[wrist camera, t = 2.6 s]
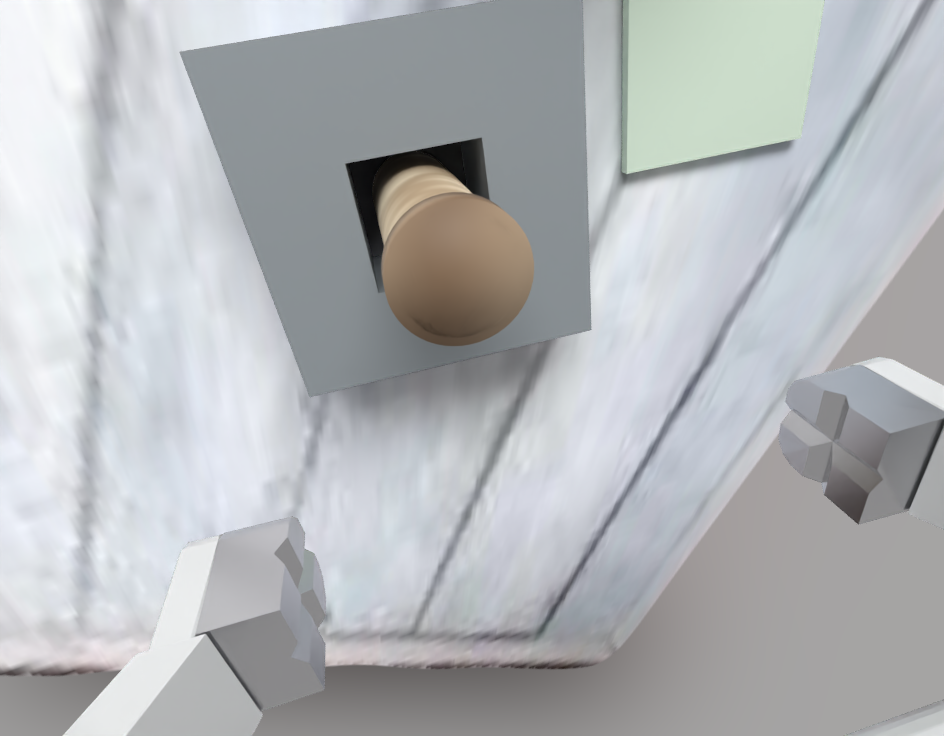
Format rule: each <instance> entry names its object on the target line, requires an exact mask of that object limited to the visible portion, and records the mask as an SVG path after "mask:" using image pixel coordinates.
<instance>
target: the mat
mask: <svg viewBox="0 0 944 736" xmlns="http://www.w3.org/2000/svg"><path fill="white" fill-rule="evenodd" d="M824 2H825V0H623V39H622V172H623V173H626V174H629V173H634V172H639V171H644V170H649V169H653V168H658V167H663V166H668V165H673V164H678V163H683V162H687V161H692V160H697V159H702V158H707V157H712V156H717V155H721V154H726V153H731V152H736V151H741V150H746V149H750V148H755V147H760V146H765V145H770V144H775V143H780V142H784V141H789V140H794V139H799V138H801V134H802V128H803V122H804V117H805V111H806V105H807V99H808V94H809V88H810V82H811V77H812V71H813V65H814V59H815V54H816V48H817V42H818V36H819V31H820V25H821V19H822V13H823V8H824Z"/></svg>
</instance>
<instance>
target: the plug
mask: <svg viewBox="0 0 944 736" xmlns="http://www.w3.org/2000/svg"><path fill="white" fill-rule="evenodd" d="M372 198H373V203H374V207H375V211H376V215H377V219H378V223H379V227H380V231H381V236H382V240H383V244H384V249H383V253H382V261H381V273H382V279H383V284H384V289H385V294H386V298H387V301H388V304H389V306H390V308H391V310H392V312H393V313H394V315H395V316H396V318H397V319H398V321H399V322H400V323H401V324H402V325H403V326H404V327H405V328H406V329H407V330H408V331H410V332H411V333H412V334H414V335H416V336H417V337H419V338H421V339H423V340H425V341H427V342H431V343H434V344H438V345H443V346H464V345H470V344H474V343H478V342H481V341H483V340H486V339H488V338H490V337H492V336H494V335H495V334H497V333H499V332H500V331H501V330H503V329H504V328H505V327H506V326H508V325H509V324H510V323H511V322H512V321H513V320H514V318H515V317H516V316H517V315H518V314H519V312H520V311H521V309H522V308H523V306H524V304H525V302H526V301H527V299H528V296H529V293H530V291H531V287H532V283H533V277H534V259H533V253H532V249H531V246H530V243H529V241H528V239H527V236H526V234H525V233H524V231H523V230H522V228H521V227H520V226H519V224H518V223H517V222H516V221H515V220H514V219H513V218H512V217H511V216H510V215H509V214H507V213H506V212H505V211H504V210H503V209H502V208H501V207H499V206H498V205H497V204H495V203H494V202H492V201H490V200H488V199H486V198H484V197H482V196H479V195H475V194H472V193H471V192H470V191H469V190H468V189H467V188H466V187H465V186H464V185H463V184H462V183H461V182H460V181H459V180H458V179H457V178H456V177H455V176H454V175H453V174H452V173H451V172H450V171H449V170H448V169H447V168H446V167H445V166H444V165H443V164H442V163H441V162H440V161H439V160H437V159H436V158H435V157H433V156H432V155H430V154H427V153H425V152H422V151H416V150H414V151H409V152H403V153H398V154H394V155H393V156H391V157H389V158H388V159H387V160H386V161H385V162H384V163H383V164H382V165H381V166H380V168H379V169H378V171H377V173H376V175H375V177H374V180H373V185H372Z"/></svg>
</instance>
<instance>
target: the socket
mask: <svg viewBox="0 0 944 736" xmlns="http://www.w3.org/2000/svg"><path fill="white" fill-rule="evenodd" d="M180 55H181V57H182V60H183V63H184V65H185V68H186V71H187V73H188V76H189V78H190V81H191V84H192V86H193V89H194V92H195V94H196V97H197V100H198V102H199V105H200V108H201V110H202V113H203V116H204V118H205V121H206V123H207V126H208V129H209V131H210V134H211V137H212V139H213V142H214V145H215V147H216V150H217V153H218V155H219V158H220V161H221V163H222V166H223V169H224V171H225V174H226V176H227V179H228V182H229V184H230V187H231V190H232V192H233V195H234V198H235V200H236V203H237V206H238V208H239V211H240V214H241V216H242V219H243V221H244V224H245V227H246V229H247V232H248V235H249V237H250V240H251V243H252V245H253V248H254V251H255V253H256V256H257V259H258V261H259V264H260V266H261V269H262V272H263V274H264V277H265V280H266V282H267V285H268V288H269V290H270V293H271V296H272V298H273V301H274V304H275V306H276V309H277V311H278V314H279V317H280V319H281V322H282V325H283V327H284V330H285V333H286V335H287V338H288V341H289V343H290V346H291V349H292V351H293V354H294V357H295V359H296V362H297V364H298V367H299V370H300V372H301V375H302V378H303V380H304V383H305V386H306V388H307V391H308V394H309V396H310V397H313V396H317V395H321V394H326V393H330V392H334V391H338V390H342V389H347V388H351V387H355V386H359V385H363V384H367V383H372V382H376V381H380V380H384V379H388V378H393V377H397V376H401V375H405V374H409V373H413V372H418V371H422V370H426V369H430V368H434V367H439V366H443V365H447V364H451V363H455V362H459V361H464V360H468V359H472V358H476V357H480V356H485V355H489V354H493V353H497V352H501V351H505V350H510V349H514V348H518V347H522V346H526V345H531V344H535V343H539V342H543V341H547V340H551V339H556V338H560V337H564V336H568V335H572V334H577V333H581V332H585V331H589V330H591V301H590V264H589V226H588V189H587V152H586V114H585V77H584V40H583V2H582V0H495V1H489V2H483V3H476V4H470V5H464V6H458V7H452V8H446V9H440V10H433V11H427V12H421V13H415V14H409V15H403V16H397V17H390V18H384V19H378V20H372V21H366V22H360V23H354V24H348V25H341V26H335V27H329V28H323V29H317V30H311V31H305V32H298V33H292V34H286V35H280V36H274V37H268V38H262V39H255V40H249V41H243V42H237V43H231V44H225V45H219V46H213V47H206V48H200V49H194V50H188V51H182V52H180ZM455 142H460V144H461V151H462V158H463V165H464V172H465V179H466V185H467V189H468V190H469V191H470V192H471V193H472V194H475V195H479V196H482V197H484V198H486V199H488V200H490V201H492V202H494V203H495V204H497V205H498V206H499V207H501V208H502V209H503V210H504V211H505V212H506V213H507V214H509V215H510V216H511V217H512V218H513V219H514V220H515V221H516V222H517V223H518V224H519V226H520V227H521V228H522V230H523V231H524V233H525V234H526V236H527V239H528V241H529V243H530V246H531V249H532V253H533V259H534V277H533V283H532V287H531V291H530V293H529V296H528V299H527V301H526V302H525V304H524V306H523V308H522V309H521V311H520V312H519V314H518V315H517V316H516V317H515V318H514V320H513V321H512V322H511V323H510V324H509V325H508V326H506V327H505V328H504V329H503V330H501V331H500V332H499V333H497V334H495V335H494V336H492V337H490V338H488V339H486V340H483V341H481V342H478V343H474V344H470V345H464V346H443V345H438V344H434V343H431V342H427V341H425V340H423V339H421V338H419V337H417V336H416V335H414V334H412V333H411V332H410V331H408V330H407V329H406V328H405V327H404V326H403V325H402V324H401V323H400V322H399V321H398V319H397V318H396V316H395V315H394V313H393V312H392V310H391V308H390V306H389V304H388V301H387V298H386V294H385V289H384V284H383V279H382V273H381V261H382V255H381V256H376V257H372V253H371V250H370V246H369V242H368V238H367V234H366V230H365V226H364V222H363V218H362V214H361V210H360V207H359V203H358V199H357V195H356V191H355V187H354V183H353V179H352V175H351V171H350V167H349V164H348V163H351V162H356V161H362V160H367V159H372V158H377V157H382V156H388V155H393V154H398V153H403V152H409V151H414V150H419V149H424V148H429V147H435V146H440V145H445V144H450V143H455Z"/></svg>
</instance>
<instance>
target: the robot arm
mask: <svg viewBox="0 0 944 736" xmlns="http://www.w3.org/2000/svg"><path fill="white" fill-rule="evenodd" d="M785 402H786V404H787V405H788V406H789V408H790V409H791V411H790V412H789V414H788V415H787V416H786V417H785V419H784V420H783V421H782V422H781V426H780V432H779V442H780V446H781V449H782V452H783V455H784V456H785V458H786V459H787V460H788V462H789V464H790V465H791V466H792V467H793V468H794V469H795V470H797V472H799V473H800V474H801V475H802V476H804V477H807V478H810V479H812V480H815V481H818V482H821V483H822V487H823V493H824V495H825V496H826V497H827V498H828V499H829V500H831V501H832V502H833V503H834V504H835V505H836V506H838V507H839V508H840V509H841V510H842V511H844V512H845V513H846V514H847V515H848V516H849V517H850V518H851V519H853V520H854V521H855V522H856V523H857V524H862V523H866V522H869V521H873V520H877V519H880V518H884V517H887V516H891V515H894V514H898V513H901V512H905V511H909V512H908V514H909V515H912V516H914V517H916V518H919V519H921V520H923V521H925V522H927V523H930V524H932V525H934V526H937V527H939V528H941V529H943V530H944V386H943V385H941V384H939V383H937V382H935V381H933V380H931V379H930V378H927V377H926V376H924V375H921V374H920V373H918V372H916V371H914V370H912V369H910V368H908V367H906V366H904V365H902V364H900V363H898V362H897V361H895V360H893V359H888V358H882V357H877V358H873V359H870V360H866V361H863V362H859V363H856V364H852V365H850V366H848V367H843V368H840V369H836V370H832V371H829V372H825V373H821V374H818V375H814V376H811V377H807V378H803V379H800V380H796V381H794V383H793V384H792V385H791V386H790V388H789V389H788V392H787V397H786V401H785ZM304 545H305V532H304V530H303V528H302V526H301V524H300V522H299V520H298V518H296V517H293V516H292V517H287V518H283V519H279V520H275V521H271V522H267V523H263V524H259V525H255V526H251V527H247V528H243V529H238V530H234V531H230V532H226V533H224V534H222V535H217V536H213V537H209V538H205V539H201V540H197V541H192V542H188V543H187V545H186V546H185V547H184V548H183V549H182V550H181V552H180V554H179V557H178V560H177V563H176V567H175V570H174V573H173V576H172V579H171V582H170V585H169V588H168V591H167V594H166V597H165V600H164V604H163V607H162V610H161V613H160V616H159V619H158V622H157V625H156V628H155V631H154V634H153V638H152V641H151V644H150V647H149V650H147V651H144V652H141V653H138V654H136V655H135V656H134V657H133V658H132V659H131V660H130V661H129V663H128V664H127V665H126V666H125V667H124V668H123V669H122V670H121V672H120V673H119V674H118V675H117V676H116V677H115V678H114V679H113V680H112V682H111V683H110V684H109V685H108V686H107V687H106V688H105V689H104V690H103V691H102V693H101V694H100V695H99V696H98V697H97V698H96V699H95V700H94V701H93V703H92V704H91V705H90V706H89V707H88V708H87V709H86V711H85V712H84V713H83V714H82V715H81V716H80V717H79V718H78V719H77V720H76V722H75V723H74V724H73V725H72V726H71V727H70V728H69V729H68V730H67V731H66V733H65V734H64V735H63V736H252V735H253V733H254V731H255V729H256V727H257V725H258V723H259V722H260V720H261V718H262V716H263V715H262V713H261V711H264V710H267V709H270V708H273V707H276V706H279V705H282V704H285V703H288V702H291V701H294V700H297V699H300V698H302V697H306V696H308V695H311V694H314V693H317V692H320V691H323V690H324V686H325V684H324V683H325V681H324V680H325V642H324V640H323V638H322V636H321V634H320V632H319V630H318V627H319V626H320V624H321V623H322V621H323V620H324V618H325V616H326V596H325V588H324V581H323V576H322V573H321V569H320V566H319V563H318V561H317V558H316V556H315V554H314V553H312V552H310V551H308V550H306V549H304ZM844 736H944V700H941V701H938V702H935V703H933V704H930V705H927V706H924V707H921V708H919V709H916V710H913V711H911V712H908V713H905V714H902V715H899V716H897V717H894V718H891V719H888V720H886V721H883V722H880V723H877V724H874V725H872V726H869V727H866V728H863V729H861V730H858V731H855V732H852V733H850V734H847V735H844Z"/></svg>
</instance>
